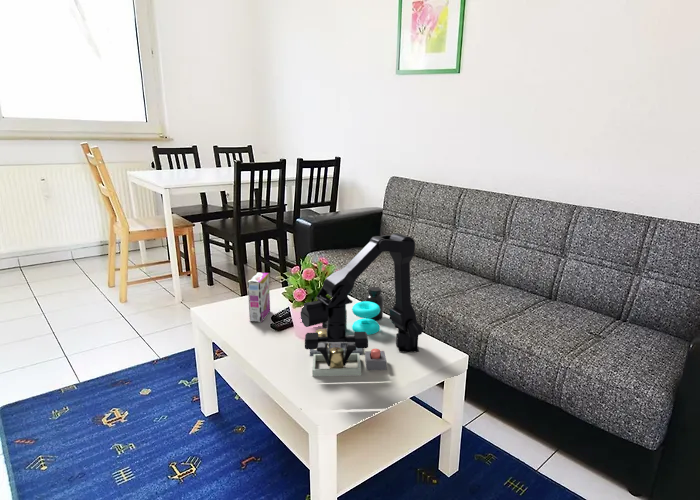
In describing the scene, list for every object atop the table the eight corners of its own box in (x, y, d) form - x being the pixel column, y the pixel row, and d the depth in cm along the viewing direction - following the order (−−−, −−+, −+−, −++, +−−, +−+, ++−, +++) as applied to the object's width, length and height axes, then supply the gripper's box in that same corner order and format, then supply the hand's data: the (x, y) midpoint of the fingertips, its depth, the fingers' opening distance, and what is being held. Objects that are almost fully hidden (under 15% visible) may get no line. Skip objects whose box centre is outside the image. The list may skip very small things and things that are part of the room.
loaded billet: (329, 344, 150) (328, 328, 148) (329, 351, 146) (328, 334, 144) (316, 345, 150) (315, 328, 148) (315, 351, 146) (315, 335, 144)
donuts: (383, 302, 162) (375, 313, 153) (383, 327, 165) (374, 339, 156) (357, 298, 166) (348, 308, 157) (357, 323, 168) (348, 334, 160)
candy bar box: (262, 323, 168) (259, 282, 164) (249, 322, 169) (246, 281, 164) (271, 311, 179) (269, 272, 174) (259, 310, 180) (256, 271, 175)
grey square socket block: (383, 362, 141) (384, 350, 140) (386, 372, 136) (386, 360, 134) (365, 362, 141) (365, 351, 140) (366, 373, 135) (366, 361, 134)
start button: (379, 357, 139) (379, 348, 138) (380, 361, 136) (380, 353, 135) (370, 357, 139) (370, 348, 138) (371, 362, 136) (371, 353, 135)
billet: (343, 364, 139) (343, 347, 137) (344, 372, 135) (344, 354, 133) (329, 364, 139) (329, 347, 137) (329, 372, 135) (329, 354, 133)
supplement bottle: (377, 323, 168) (378, 293, 165) (361, 319, 172) (362, 289, 169) (386, 316, 174) (386, 287, 171) (370, 312, 178) (371, 284, 174)
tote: (359, 361, 142) (359, 353, 141) (361, 378, 133) (361, 369, 132) (313, 362, 141) (313, 354, 140) (312, 379, 132) (312, 370, 131)
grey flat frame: (360, 342, 154) (360, 336, 153) (362, 357, 144) (362, 350, 143) (311, 343, 153) (310, 337, 152) (309, 358, 143) (309, 351, 143)
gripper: (365, 307, 140) (365, 351, 145) (305, 308, 139) (307, 352, 144) (368, 322, 129) (367, 370, 134) (303, 323, 129) (305, 371, 133)
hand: (336, 365), depth 136 cm, fingers closed on billet, 4 cm apart
